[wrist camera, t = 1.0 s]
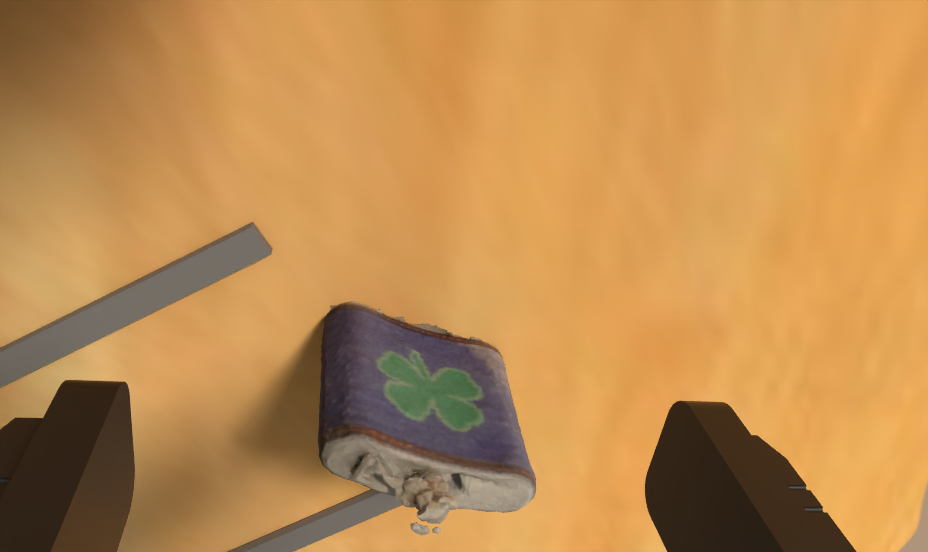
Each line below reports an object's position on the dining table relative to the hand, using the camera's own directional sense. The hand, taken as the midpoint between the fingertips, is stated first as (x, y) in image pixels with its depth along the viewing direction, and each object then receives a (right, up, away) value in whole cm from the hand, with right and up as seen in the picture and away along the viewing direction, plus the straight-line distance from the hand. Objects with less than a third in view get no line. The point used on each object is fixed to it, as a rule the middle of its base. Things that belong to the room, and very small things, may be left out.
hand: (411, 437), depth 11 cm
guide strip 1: (-15, +1, +22) cm, 27 cm away
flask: (-2, -1, +25) cm, 25 cm away
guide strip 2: (-8, -12, +31) cm, 34 cm away
